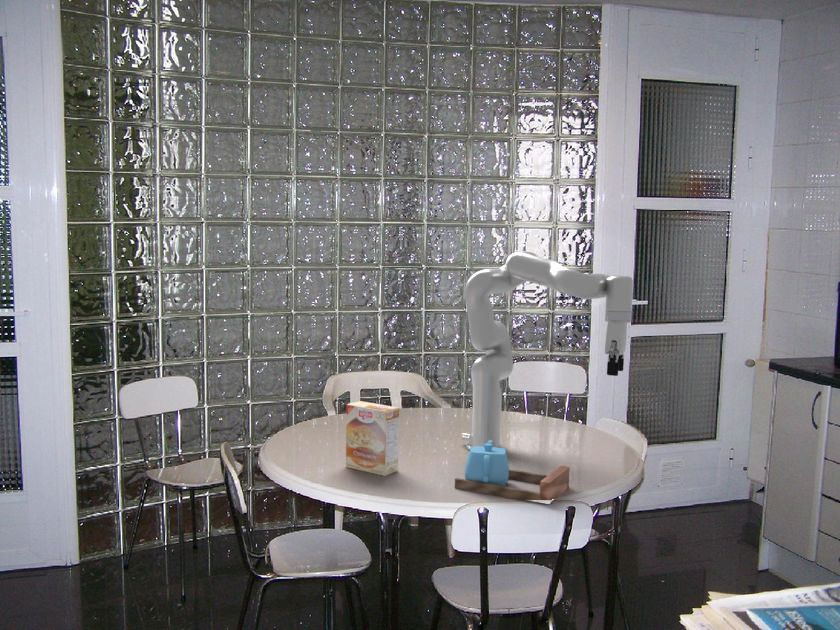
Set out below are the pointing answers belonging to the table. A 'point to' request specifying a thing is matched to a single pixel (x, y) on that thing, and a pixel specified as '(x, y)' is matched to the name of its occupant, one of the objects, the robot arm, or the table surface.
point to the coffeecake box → (372, 437)
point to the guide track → (549, 483)
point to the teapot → (487, 465)
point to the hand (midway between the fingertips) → (615, 372)
